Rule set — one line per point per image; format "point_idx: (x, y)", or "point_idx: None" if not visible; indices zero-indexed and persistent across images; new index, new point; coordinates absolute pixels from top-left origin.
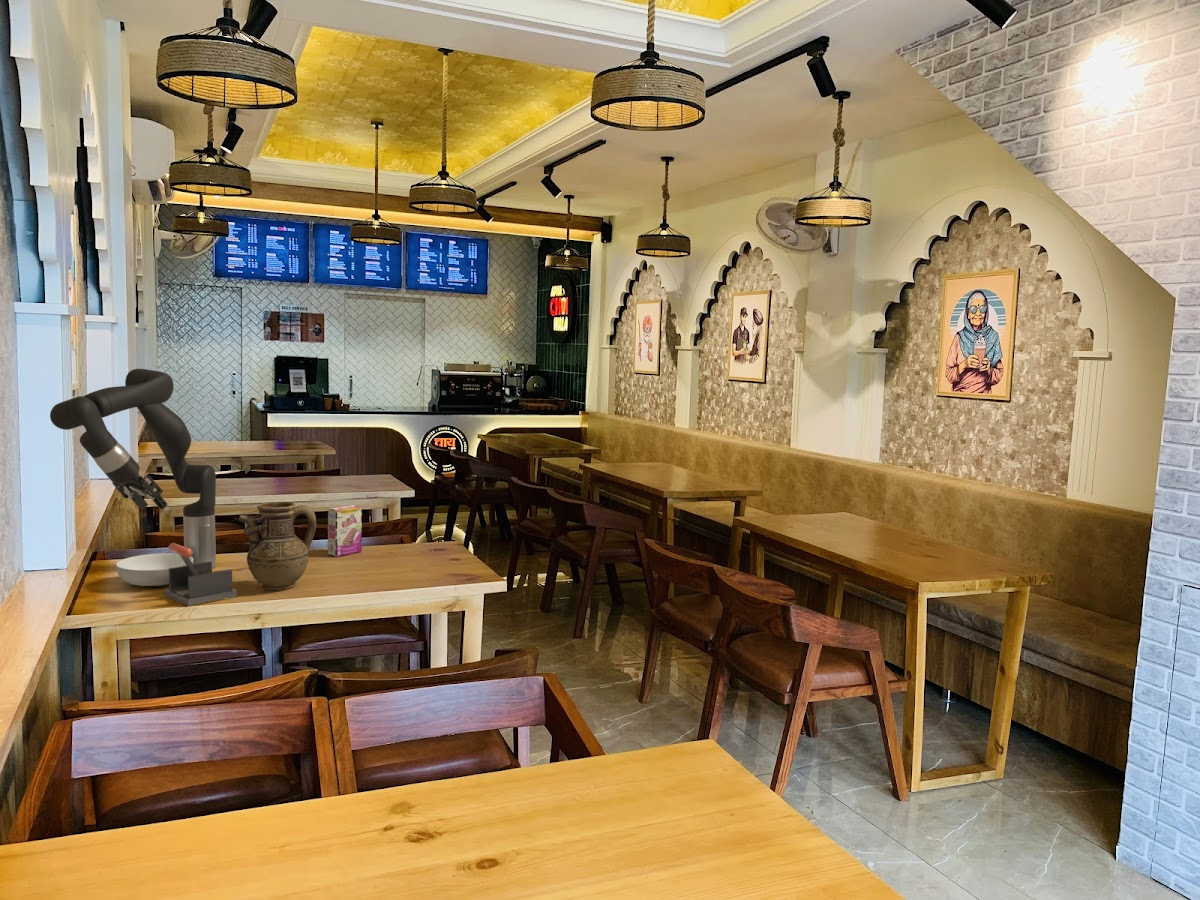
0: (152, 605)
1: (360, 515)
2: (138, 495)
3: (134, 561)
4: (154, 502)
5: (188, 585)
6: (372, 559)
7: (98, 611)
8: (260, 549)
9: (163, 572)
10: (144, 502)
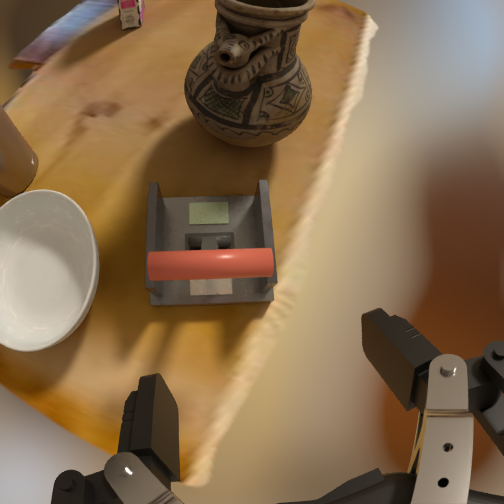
0: (211, 355)
1: None
2: (141, 452)
3: None
4: (396, 394)
5: (264, 287)
6: (189, 10)
7: (187, 448)
8: (280, 102)
9: (96, 282)
10: (159, 399)
